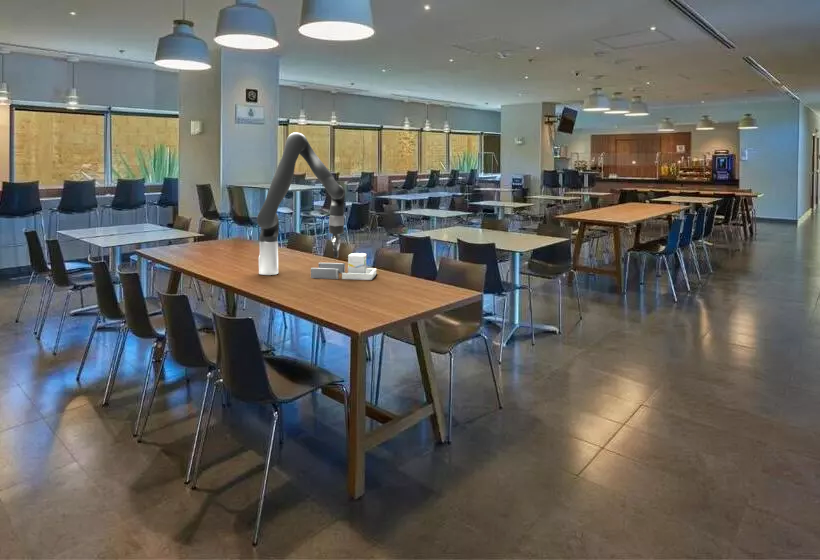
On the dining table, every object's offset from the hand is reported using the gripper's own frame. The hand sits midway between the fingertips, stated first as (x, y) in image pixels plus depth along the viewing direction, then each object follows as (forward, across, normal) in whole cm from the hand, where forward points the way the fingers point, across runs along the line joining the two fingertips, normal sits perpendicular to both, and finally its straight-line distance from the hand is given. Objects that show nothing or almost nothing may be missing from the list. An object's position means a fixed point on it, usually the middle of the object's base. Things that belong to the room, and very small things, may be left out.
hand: (335, 257), depth 312 cm
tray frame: (+9, 0, +12) cm, 15 cm away
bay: (+10, 0, -4) cm, 10 cm away
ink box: (+10, 0, +12) cm, 15 cm away
